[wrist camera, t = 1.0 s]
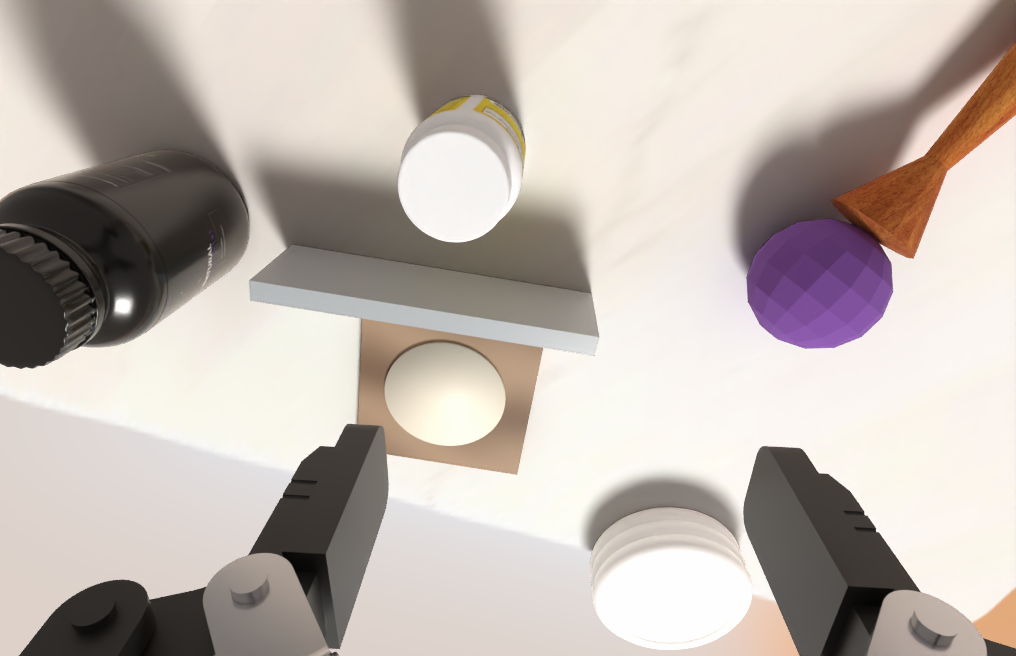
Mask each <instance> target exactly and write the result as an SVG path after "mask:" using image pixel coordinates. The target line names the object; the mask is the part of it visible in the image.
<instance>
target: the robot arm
mask: <svg viewBox="0 0 1016 656" xmlns="http://www.w3.org/2000/svg"><path fill="white" fill-rule="evenodd" d="M387 498H388V470H387V457H386V444H385V432H384V428H383V426H379V425H359V424H347V425H346V426H345V428H344V430H343V432H342V434H341V436H340V438H339V440H338V442H337V444H336V446H335V447H325V446H320V447H319V448H318V449H316V450H315V451H314V452H313V453H311V454H310V455H309V456H308V457H306V458H305V459H304V460H303V461H302V462H301V464H300V465H299V467H298V469H297V471H296V472H295V474H294V476H293V478H292V481H291V483H289V485H288V486H287V488H286V490H285V492H284V493H283V498H281V499H280V500H279V503H278V504H277V506H276V507H275V509H274V511H273V513H272V515H271V516H270V518H269V520H268V522H267V523H266V525H265V527H264V528H263V530H262V532H261V534H260V536H259V537H258V539H257V541H256V543H255V544H254V546H253V548H252V550H251V551H250V553H249V555H247V556H245V557H242V558H239V559H237V560H235V561H233V562H231V563H229V564H228V565H226V566H225V567H224V568H222V569H221V570H220V571H219V572H217V573H216V574H215V575H214V577H213V578H212V579H211V580H210V582H209V583H208V585H207V587H204V588H201V589H197V590H194V591H189V592H185V593H180V594H175V595H170V596H165V597H161V598H156V599H151V600H149V598H148V595H147V592H146V590H145V589H144V587H142V586H141V585H140V584H138V583H136V582H134V581H130V580H113V581H108V582H103V583H100V584H97V585H94V586H92V587H89V588H87V589H85V590H83V591H81V592H79V593H77V594H76V595H74V596H72V597H71V598H70V599H68V600H67V601H66V602H64V603H63V604H62V605H61V606H60V607H59V608H58V609H56V610H55V612H54V613H53V614H52V615H51V616H50V617H49V618H48V620H47V621H46V622H45V623H44V625H43V626H42V627H41V629H40V630H39V631H38V632H37V634H36V635H35V636H34V637H33V639H32V640H31V641H30V643H29V644H28V645H27V646H26V648H25V649H24V650H23V651H22V653H21V654H20V655H19V656H339V655H338V654H337V652H334V653H331V652H330V650H329V648H332V649H340V646H341V643H342V640H343V637H344V634H345V631H346V628H347V625H348V622H349V619H350V616H351V613H352V610H353V607H354V604H355V601H356V598H357V594H358V592H359V589H360V586H361V583H362V579H363V576H364V573H365V570H366V567H367V564H368V561H369V558H370V555H371V552H372V549H373V546H374V543H375V540H376V537H377V534H378V531H379V528H380V524H381V522H382V519H383V516H384V513H385V509H386V504H387ZM743 512H744V524H745V528H746V532H747V534H748V537H749V539H750V541H751V544H752V546H753V548H754V551H755V553H756V555H757V558H758V560H759V562H760V565H761V567H762V569H763V572H764V574H765V576H766V579H767V581H768V583H769V586H770V588H771V590H772V592H773V595H774V597H775V599H776V602H777V604H778V606H779V609H780V611H781V613H782V616H783V618H784V620H785V623H786V625H787V627H788V629H789V632H790V634H791V637H792V639H793V641H794V644H795V646H796V648H797V651H798V653H799V655H800V656H1016V649H1015V648H1012V647H1009V646H1005V645H1002V644H999V643H996V642H992V641H990V640H987V639H984V638H983V637H982V635H981V634H980V633H979V631H978V630H977V628H976V627H975V626H974V625H973V624H972V623H971V621H970V620H968V619H967V618H966V617H965V616H964V615H963V614H962V613H960V612H959V611H958V610H956V609H955V608H954V607H952V606H950V605H949V604H947V603H945V602H944V601H942V600H940V599H938V598H935V597H933V596H931V595H928V594H925V593H922V592H920V590H919V589H918V587H917V586H916V585H915V583H914V582H913V580H912V579H911V577H910V576H909V575H908V573H907V572H906V570H905V569H904V568H903V566H902V565H901V563H900V562H899V560H898V559H897V558H896V556H895V555H894V553H893V552H892V550H891V549H890V548H889V546H888V545H887V543H886V542H885V540H884V539H883V538H882V536H881V535H880V533H878V532H876V528H875V526H874V525H873V523H872V522H871V521H870V519H869V518H868V516H865V515H864V511H863V509H862V508H861V506H860V505H859V503H858V502H857V501H856V499H855V498H854V496H853V495H852V493H851V492H850V491H849V490H847V489H846V488H845V487H844V486H842V485H841V484H840V483H839V482H837V481H836V480H835V479H834V478H832V477H831V476H830V475H829V474H819V473H818V472H817V470H816V469H815V467H814V466H813V464H812V462H811V461H810V459H809V458H808V456H807V455H806V453H805V452H804V451H803V450H802V449H800V448H788V447H768V446H763V447H761V448H760V449H759V451H758V453H757V456H756V460H755V464H754V468H753V471H752V475H751V479H750V483H749V486H748V490H747V494H746V498H745V502H744V511H743Z"/></svg>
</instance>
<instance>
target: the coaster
mask: <svg viewBox="0 0 1016 656" xmlns="http://www.w3.org/2000/svg"><path fill="white" fill-rule="evenodd" d="M590 572H591V585H592V599H593V604H594V607H595V610H596V612H597V614H598V616H599V618H600V619H601V621H602V622H603V623H604V625H605V626H606V627H607V628H608V629H610V630H611V631H612V632H613V633H615V634H616V635H618V636H619V637H621V638H623V639H625V640H627V641H629V642H632V643H635V644H637V645H640V646H644V647H649V648H654V649H667V650H668V649H669V650H673V649H685V648H691V647H696V646H700V645H703V644H706V643H709V642H711V641H713V640H716V639H718V638H719V637H721V636H723V635H724V634H726V633H727V632H729V631H730V630H731V629H732V628H734V627H735V626H736V625H737V624H738V623H739V622H740V621H741V619H742V618H743V617H744V615H745V614H746V612H747V610H748V608H749V606H750V603H751V598H752V582H751V578H750V575H749V572H748V570H747V568H746V565H745V561H744V559H743V557H742V554H741V552H740V548H739V545H738V543H737V541H736V539H735V538H734V537H733V535H732V534H731V533H730V531H729V530H728V529H727V528H726V527H725V526H724V525H722V524H721V523H720V522H718V521H717V520H715V519H714V518H712V517H710V516H708V515H705V514H703V513H700V512H697V511H694V510H689V509H684V508H675V507H662V508H653V509H647V510H643V511H639V512H636V513H633V514H631V515H628V516H626V517H624V518H622V519H620V520H618V521H617V522H615V523H614V524H613V525H611V526H610V527H609V528H608V529H607V530H606V531H604V532H603V534H602V535H601V536H600V537H599V539H598V540H597V542H596V544H595V546H594V549H593V551H592V554H591V559H590Z"/></svg>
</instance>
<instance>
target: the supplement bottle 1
mask: <svg viewBox="0 0 1016 656" xmlns="http://www.w3.org/2000/svg"><path fill="white" fill-rule="evenodd" d="M248 239H249V220H248V215H247V211H246V208H245V205H244V203H243V201H242V199H241V197H240V195H239V193H238V191H237V190H236V188H235V187H234V186H233V184H232V183H231V182H230V181H229V180H228V178H227V177H226V176H225V175H224V174H223V173H222V172H220V171H219V170H218V169H217V168H215V167H214V166H213V165H211V164H210V163H208V162H206V161H205V160H203V159H201V158H199V157H197V156H194V155H192V154H189V153H185V152H181V151H176V150H158V151H151V152H147V153H143V154H138V155H134V156H131V157H127V158H124V159H120V160H116V161H113V162H109V163H105V164H102V165H98V166H95V167H91V168H87V169H84V170H80V171H76V172H73V173H69V174H66V175H62V176H58V177H55V178H51V179H47V180H44V181H40V182H37V183H33V184H30V185H27V186H25V187H22V188H19V189H17V190H15V191H13V192H11V193H9V194H8V195H6V196H5V197H4V198H2V199H1V200H0V364H2V365H4V366H7V367H13V366H14V367H17V368H20V369H22V368H25V367H28V368H35V367H37V366H45V365H47V364H49V363H51V362H52V361H55V360H57V359H59V358H61V357H62V356H64V355H65V354H67V353H68V352H70V351H72V350H74V349H77V348H79V347H80V346H81V347H110V346H116V345H120V344H124V343H127V342H129V341H131V340H134V339H135V338H137V337H139V336H141V335H142V334H144V333H146V332H147V331H148V330H150V329H151V328H152V327H154V326H155V325H157V324H158V323H159V322H161V321H162V320H163V319H165V318H166V317H168V316H169V315H170V314H172V313H173V312H174V311H176V310H177V309H178V308H180V307H181V306H183V305H184V304H185V303H187V302H188V301H189V300H191V299H192V298H194V297H195V296H196V295H198V294H199V293H200V292H202V291H203V290H204V289H206V288H207V287H209V286H210V285H211V284H213V283H214V282H215V281H217V280H218V279H219V278H221V277H222V276H223V275H225V274H226V273H227V272H228V271H230V270H231V269H232V268H233V267H234V266H235V265H236V264H237V263H238V262H239V261H240V259H241V258H242V256H243V254H244V252H245V250H246V247H247V244H248Z"/></svg>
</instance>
